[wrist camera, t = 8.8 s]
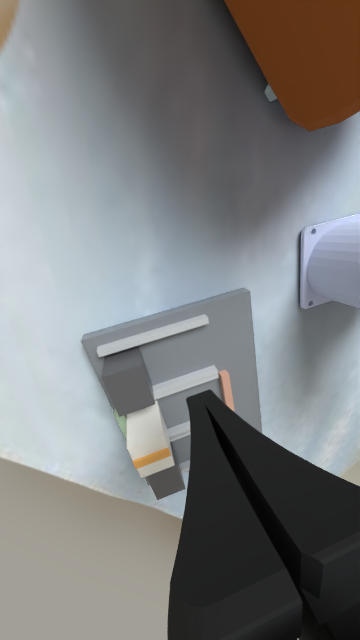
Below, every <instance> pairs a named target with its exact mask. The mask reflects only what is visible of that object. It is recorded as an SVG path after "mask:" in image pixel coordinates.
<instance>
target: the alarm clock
mask: <svg viewBox="0 0 360 640" xmlns="http://www.w3.org/2000/svg"><path fill="white" fill-rule="evenodd" d="M224 1H225V3H226V5H227V7H228V9H229V11H230V13H231V14H232V16H233V18H234V20H235V22H236V24H237V26H238V28H239V29H240V31H241V33H242V35H243V37H244V39H245V41H246V42H247V44H248V46H249V48H250V50H251V52H252V54H253V55H254V57H255V59H256V61H257V63H258V65H259V67H260V68H261V70H262V72H263V74H264V76H265V78H266V80H267V82H268V85H267V87H266V89H265V92H264V93H265V94H266V96H267V98H268V100H269V102H271V101H274V100H276V99H278V100H279V102H280V104H281V105H282V107H283V109H284V110H285V112H286V114H287V115H288V117H289V119H290V120H291V121H292V122H294V123H295V124H297V125H299V126H301V127H303V128H305V129H306V130H308V131H313V130H317V129H320V128H323V127H327V126H330V125H334V124H337V123H340V122H342V121H344V120H345V119H347V118H349V117H350V116H352V115H354V114H356V113H357V112H359V111H360V0H224Z"/></svg>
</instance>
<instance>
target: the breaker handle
mask: <svg viewBox="0 0 360 640" xmlns="http://www.w3.org/2000/svg"><path fill="white" fill-rule="evenodd" d="M127 449H128V451H129V454H130V456H131V458H132V460H133V464H134V466H135V468H136V469H137V470H138V472H139V474H140V476H141V478H144V477H146V476H149V475H151V474H154V473H156V472H159V471H161V470H164V469H166V468H169V467H172V466H174V465H175V464H174V459H173V455H172V450H171V445H170V441H169V436H168V432H167V427H166V425H165V422H164V419H163V416H162V413H161V410H160V407H159V404H158V401H157V400H155V405H152V406H149V407H146V408H143V409H141V410H138V411H135V412H132V413H129V414H127Z"/></svg>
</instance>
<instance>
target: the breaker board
mask: <svg viewBox="0 0 360 640" xmlns="http://www.w3.org/2000/svg"><path fill="white" fill-rule="evenodd" d="M81 342H82V344H83V346H84V348H85V350H86V352H87V355H88V357H89V359H90V361H91V363H92V365H93V367H94V369H95V372H96V374H97V376H98V378H99V380H100V382H101V384H102V387H103V389H104V391H105V393H106V395H107V397H108V399H109V402H110V404H111V406H112V408H113V410H114V416H115V418H116V420H117V422H118V424H119V426H120V428H121V430H122V433H123V435H124V437H125V439H126V441H127V414H129V413H132V412H135V411H138V410H141V409H143V408H146V407H149V406H152V405H155V400H157V401H158V404H159V407H160V410H161V413H162V416H163V419H164V422H165V425H166V427H167V432H168V436H169V441H170V445H171V450H172V455H173V459H174V464H175V465H174V466H172V467H169V468H166V469H164V470H161V471H159V472H156V473H154V474H151V475H149V476H146V477H145V479H146V481H147V483H148V485H151V487H152V489H153V491H154V493H155V496H156V498H157V500H159V499H161V498H164V497H166V496H169V495H171V494H173V493H176V492H178V491H181V490H183V489H185V485H184V481H183V477H182V474H183V473H186V472H188V471H189V468H190V444H191V433H190V417H189V410H188V406H187V402H186V399H187V397H189V396H192V395H195V394H198V393H201V392H203V391H206V390H209V389H210V390H212V391H213V392H214V393H215V394H216V395H217V396H218V397H219V398H220V399H221V400H222V401H223V402H224V403H225V404H226V405H227V406H228V407H229V408H230V409H231V410H233V411H234V412H235V413H236V414H237V415H239V416H240V417H241V418H242V419H243V420H245V421H246V422H247V423H248V424H250V425H251V426H252V427H254V428H255V429H256V430H258V431H259V432H261V433H262V426H261V414H260V402H259V391H258V379H257V368H256V356H255V344H254V333H253V321H252V310H251V298H250V291H249V290H247V289H244V288H241V289H238V290H235V291H231V292H228V293H224V294H221V295H217V296H214V297H211V298H207V299H204V300H200V301H197V302H194V303H190V304H187V305H183V306H180V307H176V308H173V309H170V310H166V311H163V312H159V313H156V314H153V315H149V316H146V317H142V318H139V319H136V320H132V321H129V322H125V323H122V324H118V325H115V326H112V327H108V328H105V329H101V330H98V331H95V332H91V333H88V334H84V335H83V338H82V340H81Z"/></svg>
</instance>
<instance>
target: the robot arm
mask: <svg viewBox="0 0 360 640" xmlns="http://www.w3.org/2000/svg"><path fill="white" fill-rule="evenodd" d="M312 230H313V232H312V234H311V231H312ZM333 300H334V301H337V302H340V303H344V304H347V305H350V306H353V307H357V308H360V213H358V214H355V215H351V216H347V217H343V218H339V219H336V220H332V221H328V222H324V223H320V224H316V225H313V226H309V227H305V228H304V229H303V230H302V232H301V272H300V307H301V308H303V309H308V308H311V307H314V306H317V305H320V304H324V303H327V302H330V301H333ZM309 302H310V303H309ZM186 402H187V406H188V410H189V417H190V433H191V444H190V468H189V480H188V488H187V497H186V504H185V511H184V516H183V522H182V528H181V534H180V539H179V544H178V549H177V554H176V559H175V563H174V568H173V572H172V577H171V582H170V594H169V609H168V640H297V638H299V640H360V486H357V485H355V484H353V483H351V482H348V481H346V480H344V479H342V478H340V477H338V476H335V475H333V474H331V473H329V472H327V471H325V470H323V469H321V468H319V467H317V466H315V465H314V464H312V463H310V462H308V461H306V460H304V459H303V458H301V457H299V456H297V455H295V454H293V453H292V452H290V451H288V450H287V449H285V448H283V447H282V446H280V445H279V444H277V443H275V442H274V441H272V440H271V439H269V438H268V437H266V436H265V435H263V434H262V433H261V432H259V431H258V430H256V429H255V428H254V427H252V426H251V425H250V424H248V423H247V422H246V421H245V420H243V419H242V418H241V417H240V416H239V415H237V414H236V413H235V412H234V411H233V410H231V409H230V408H229V407H228V406H227V405H226V404H225V403H224V402H223V401H222V400H221V399H220V398H219V397H218V396H217V395H216V394H215V393H214V392H213V391H212V390H210V389H209V390H206V391H203V392H201V393H198V394H195V395H192V396H189V397H187V399H186Z"/></svg>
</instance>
